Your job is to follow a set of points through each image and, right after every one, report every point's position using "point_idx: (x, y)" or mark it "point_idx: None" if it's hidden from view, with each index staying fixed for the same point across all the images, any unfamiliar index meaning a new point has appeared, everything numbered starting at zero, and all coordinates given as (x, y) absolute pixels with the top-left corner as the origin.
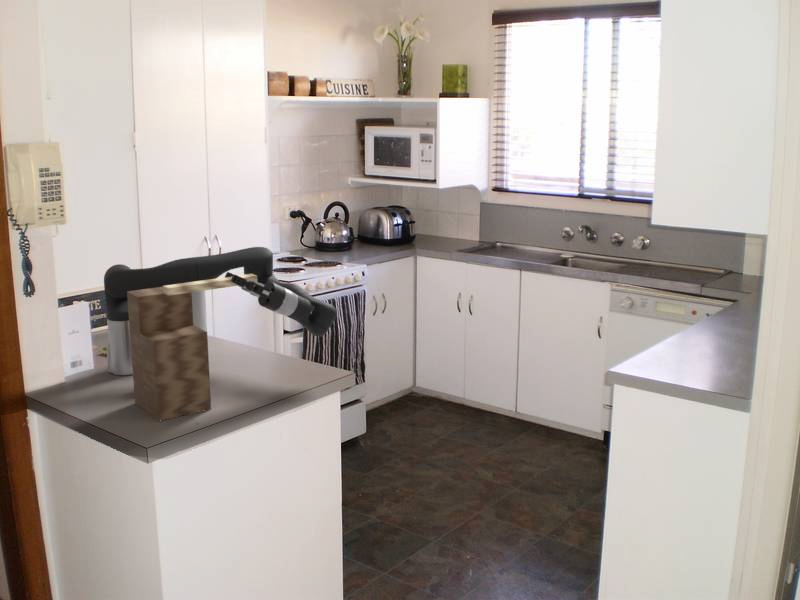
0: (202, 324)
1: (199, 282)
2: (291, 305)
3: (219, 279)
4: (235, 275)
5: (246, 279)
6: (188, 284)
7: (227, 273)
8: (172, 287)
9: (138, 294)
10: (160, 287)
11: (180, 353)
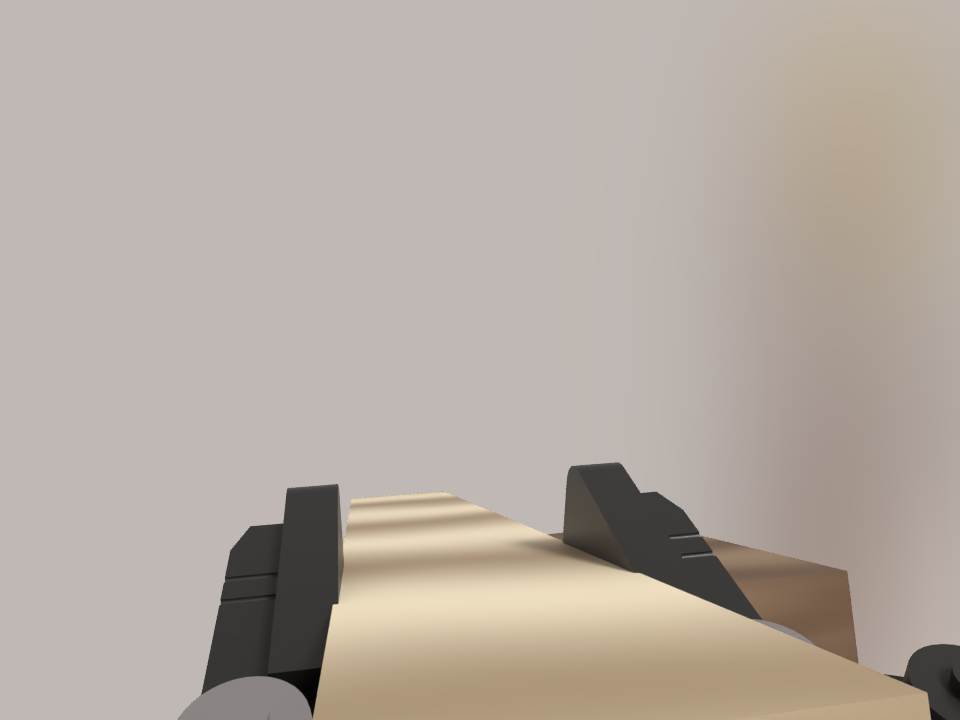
0: None
1: (407, 513)
2: None
3: (442, 535)
4: (291, 499)
5: (253, 679)
6: (382, 507)
7: (573, 481)
8: (354, 500)
9: (555, 537)
10: (731, 548)
11: None
